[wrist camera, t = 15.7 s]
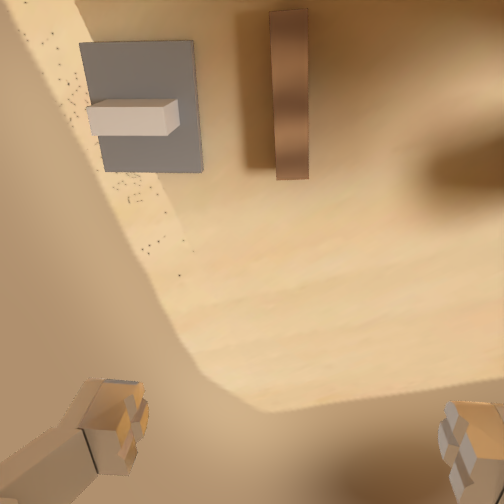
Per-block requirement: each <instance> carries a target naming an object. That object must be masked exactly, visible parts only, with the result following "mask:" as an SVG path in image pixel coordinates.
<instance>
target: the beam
mask: <svg viewBox="0 0 504 504" xmlns="http://www.w3.org/2000/svg"><path fill="white" fill-rule="evenodd" d="M269 19H270V42H271V64H272V87H273V110H274V132H275V155H276V177H277V180H298V179H309V150H308V8H307V9H296V10H285V11H273V12H269Z"/></svg>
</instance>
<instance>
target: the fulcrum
mask: <svg viewBox="0 0 504 504" xmlns="http://www.w3.org/2000/svg"><path fill="white" fill-rule="evenodd" d="M79 47H80V52H81V57H82V61H83V66H84V71H85V76H86V81H87V86H88V91H89V96H90V100H91V106H88V107H86V110H87V114H88V119H89V124H90V128H91V133H92V136H98V139H99V144H100V149H101V154H102V159H103V164H104V169H105V172H151V173H202V172H203V170H204V169H203V157H202V144H201V132H200V120H199V107H198V95H197V83H196V70H195V58H194V46H193V40H187V41H136V42H85V43H79Z"/></svg>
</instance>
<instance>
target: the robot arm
mask: <svg viewBox="0 0 504 504" xmlns="http://www.w3.org/2000/svg"><path fill="white" fill-rule="evenodd" d="M144 393H145V389H144V385H143V383H142V382H135V381H124V380H113V379H99V378H88V379H87V380H86V381H85V382H84V383H83V385H82V386H81V388H80V390H79V391H78V393H77V395H76V396H75V398H74V400H73V401H72V403H71V405H70V406H69V408H68V410H67V411H66V413H65V414H64V416H63V418H62V419H61V421H60V423H59V424H58V426H57V427H51V428H50V429H48V430H47V431H45V432H44V433H43V434H41V435H40V436H38V437H37V438H35V439H34V440H32V441H31V442H30V443H28V444H27V445H25V446H24V447H22V448H21V449H20V450H18V451H17V452H15V453H14V454H12V455H11V456H9V457H8V458H7V459H5V460H4V461H2V462H1V463H0V504H71V503H72V502H73V501H74V500H75V499H76V497H78V496H79V495H80V494H81V493H82V492H83V491H84V490H85V489H86V488H87V486H89V485H90V484H91V482H93V481H94V480H95V478H96V477H97V476H98V475H97V474H102V475H103V474H104V475H120V476H129V474H130V471H131V469H132V467H133V464H134V461H135V459H136V456H137V453H138V451H137V447H136V443H137V442H139V441H140V440H141V439H142V438H143V437H144V435H145V432H146V429H147V424H148V419H149V407H148V403H147V401H146V400H145V399H143V395H144ZM444 411H445V414H446V417H447V418H446V419H444V420H443V421H441V422H440V426H439V430H438V443H439V448H440V452H441V455H442V458H443V461H445V462H446V463H447V464H448V465H449V466H450V467H451V468H452V470H451V473H450V475H449V479H450V482H451V485H452V488H453V491H454V493H455V496H456V499H457V502H458V504H504V404H500V403H486V402H467V401H449V402H448V403H447V404H446V407H445V409H444Z"/></svg>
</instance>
